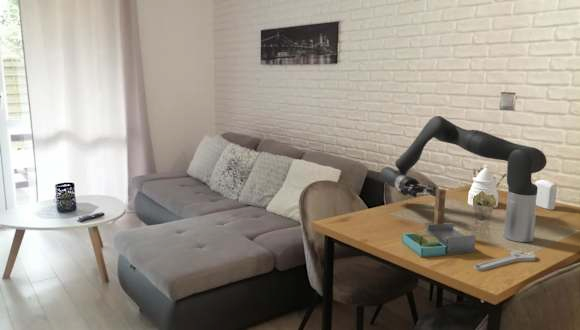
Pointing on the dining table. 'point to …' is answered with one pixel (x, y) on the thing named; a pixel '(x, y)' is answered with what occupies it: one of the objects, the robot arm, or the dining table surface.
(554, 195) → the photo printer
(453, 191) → the dining table surface
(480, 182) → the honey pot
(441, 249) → the tray
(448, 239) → the rail channel
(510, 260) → the adjustable wrench
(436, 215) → the wooden post on base
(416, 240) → the brass block
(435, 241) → the brass block
